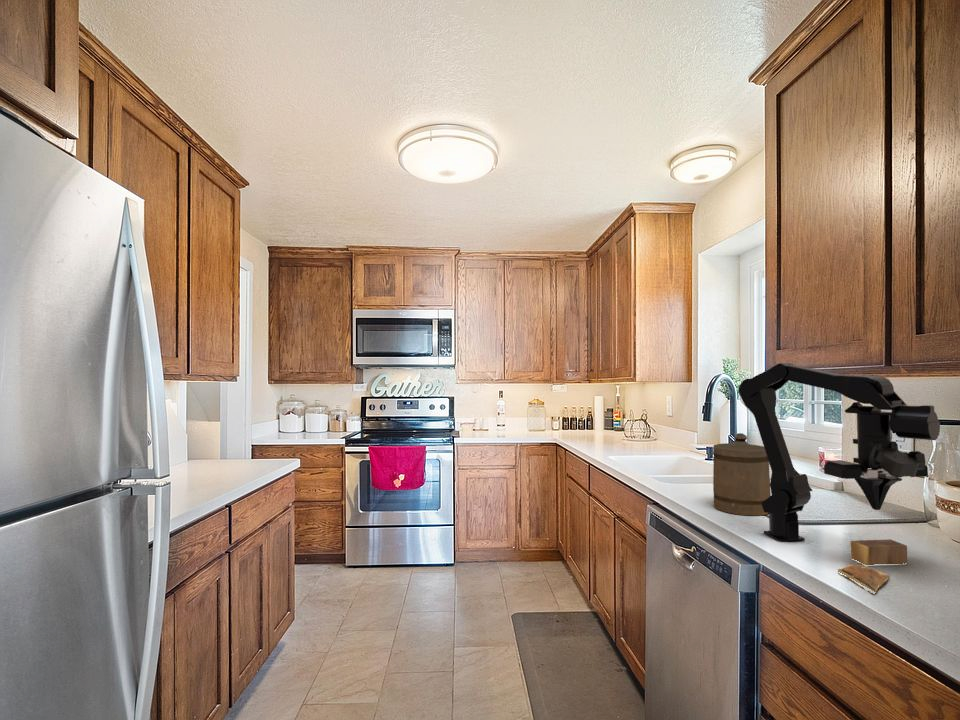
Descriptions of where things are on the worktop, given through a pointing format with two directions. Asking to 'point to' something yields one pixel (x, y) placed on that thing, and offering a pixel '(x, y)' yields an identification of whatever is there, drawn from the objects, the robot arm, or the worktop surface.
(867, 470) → the robot arm
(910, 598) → the worktop surface
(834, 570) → the worktop surface
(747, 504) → the wooden container
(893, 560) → the walnut block
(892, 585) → the worktop surface
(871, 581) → the shard
